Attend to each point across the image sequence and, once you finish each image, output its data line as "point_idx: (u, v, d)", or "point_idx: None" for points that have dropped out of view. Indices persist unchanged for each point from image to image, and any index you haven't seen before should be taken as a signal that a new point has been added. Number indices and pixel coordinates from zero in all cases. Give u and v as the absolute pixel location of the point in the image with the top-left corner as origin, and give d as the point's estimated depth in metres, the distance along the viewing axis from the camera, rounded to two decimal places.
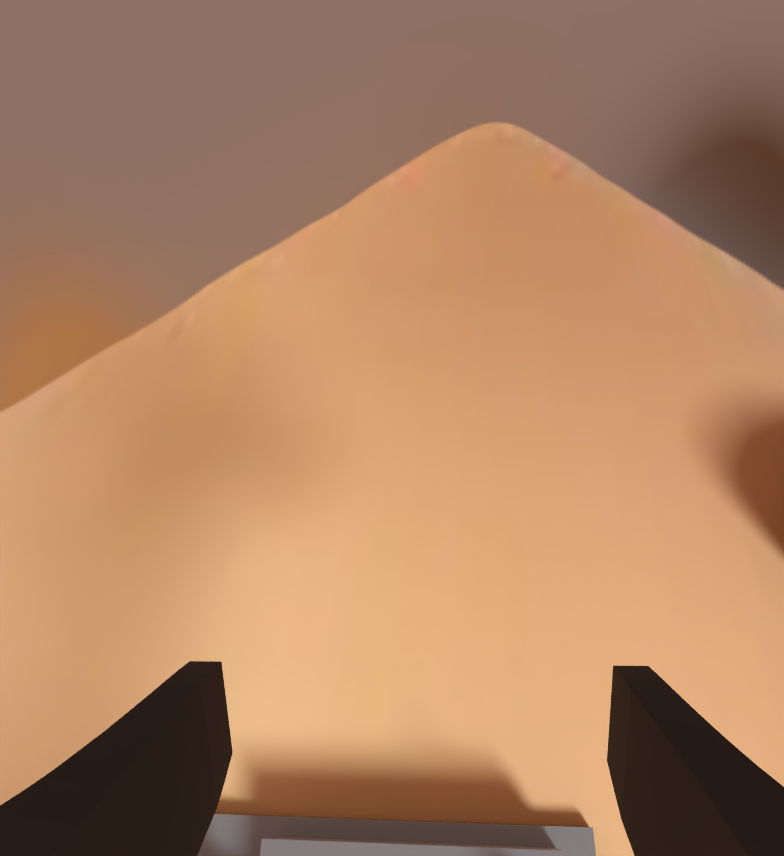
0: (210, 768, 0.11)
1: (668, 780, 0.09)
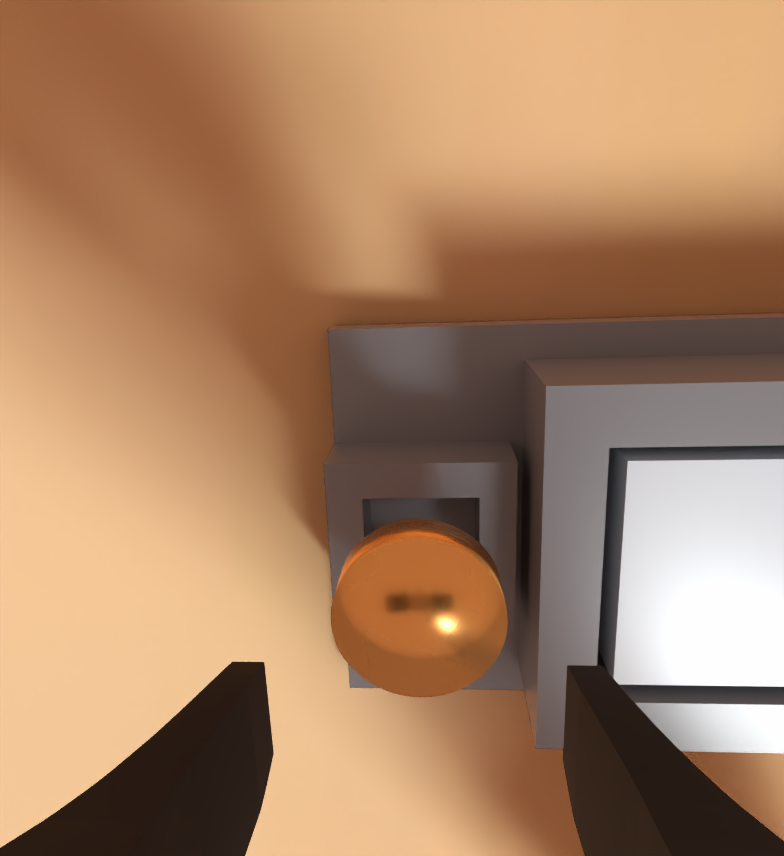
0: (255, 769, 0.11)
1: (609, 779, 0.09)
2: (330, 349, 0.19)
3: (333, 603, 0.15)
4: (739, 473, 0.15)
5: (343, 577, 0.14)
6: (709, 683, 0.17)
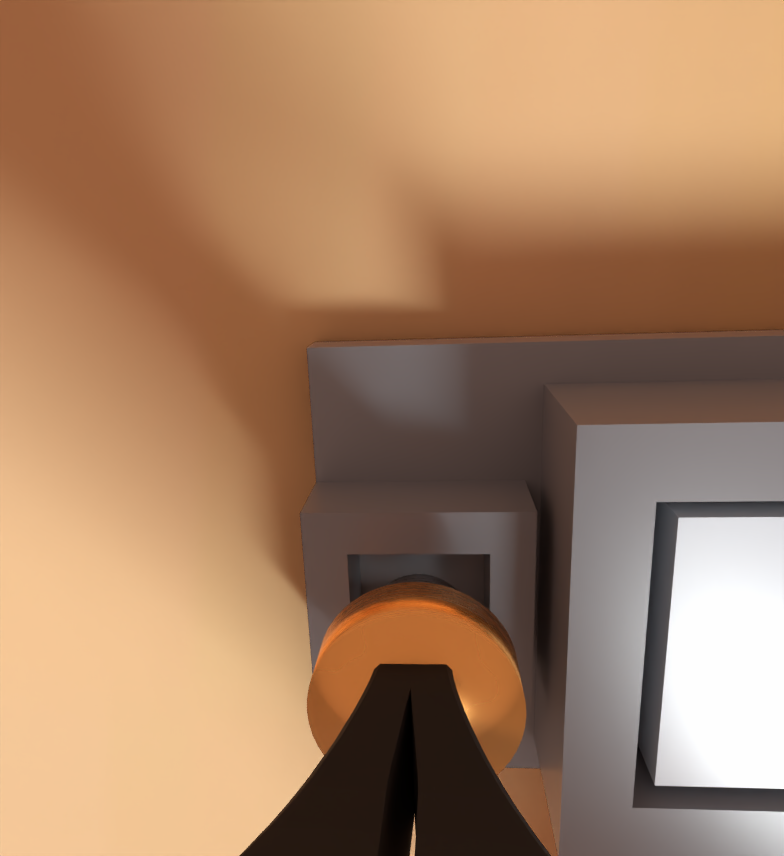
0: (412, 773, 0.11)
1: (416, 774, 0.09)
2: (310, 371, 0.15)
3: (310, 689, 0.12)
4: None
5: (322, 658, 0.12)
6: (774, 785, 0.14)
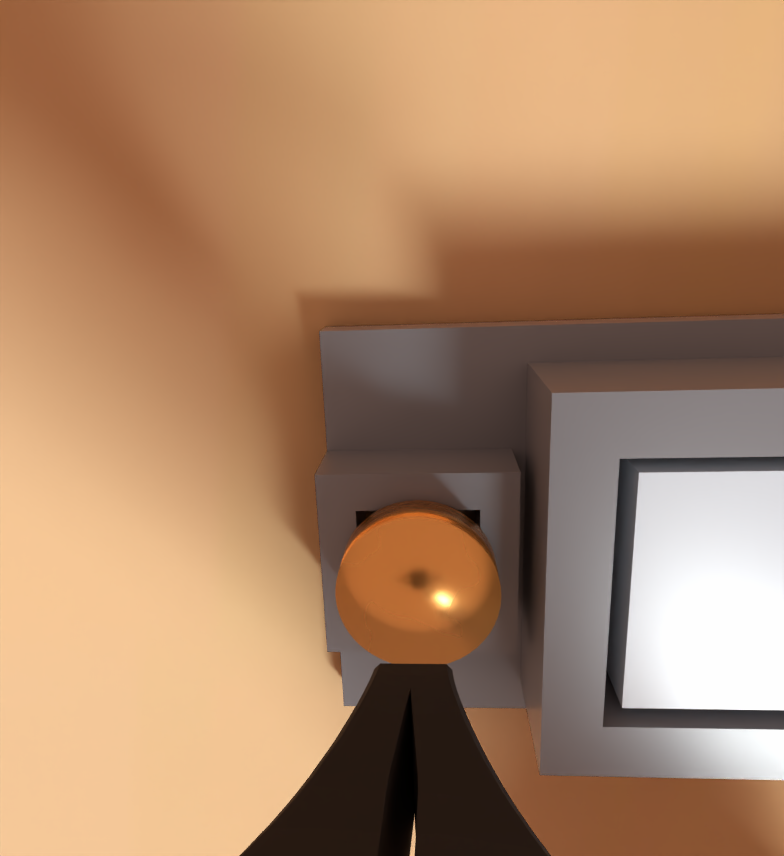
0: (412, 773, 0.11)
1: (416, 775, 0.09)
2: (322, 352, 0.18)
3: (337, 579, 0.16)
4: (758, 485, 0.14)
5: (347, 554, 0.15)
6: (724, 706, 0.16)
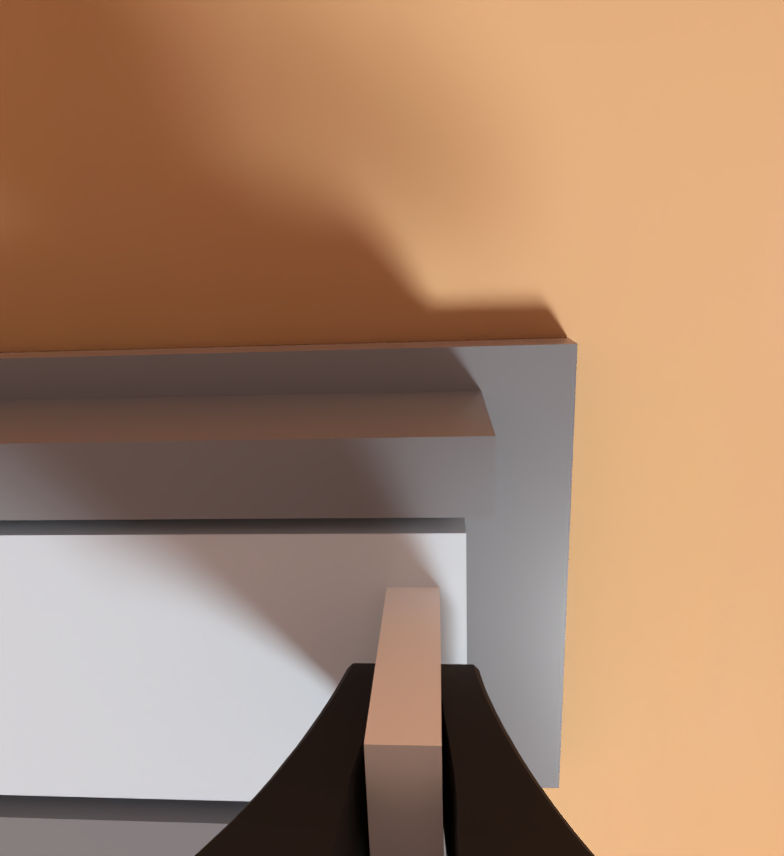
0: None
1: (449, 775, 0.09)
2: None
3: None
4: None
5: None
6: None
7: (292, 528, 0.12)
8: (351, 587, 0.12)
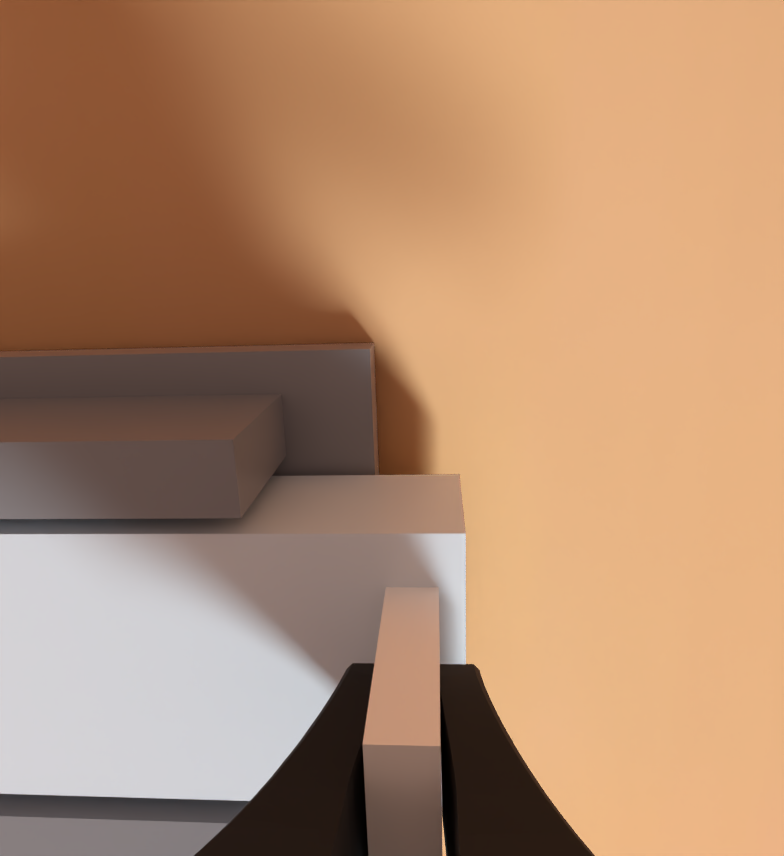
0: None
1: (449, 775, 0.09)
2: None
3: None
4: None
5: None
6: None
7: (291, 527, 0.12)
8: (351, 586, 0.12)
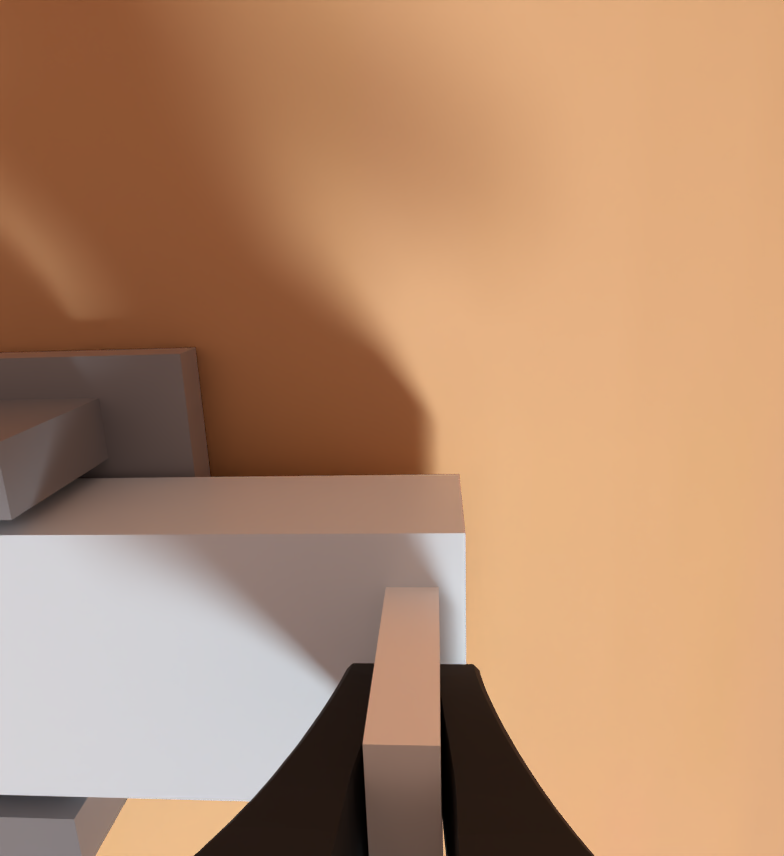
0: None
1: (449, 775, 0.09)
2: None
3: None
4: None
5: None
6: None
7: (291, 528, 0.12)
8: (351, 586, 0.12)
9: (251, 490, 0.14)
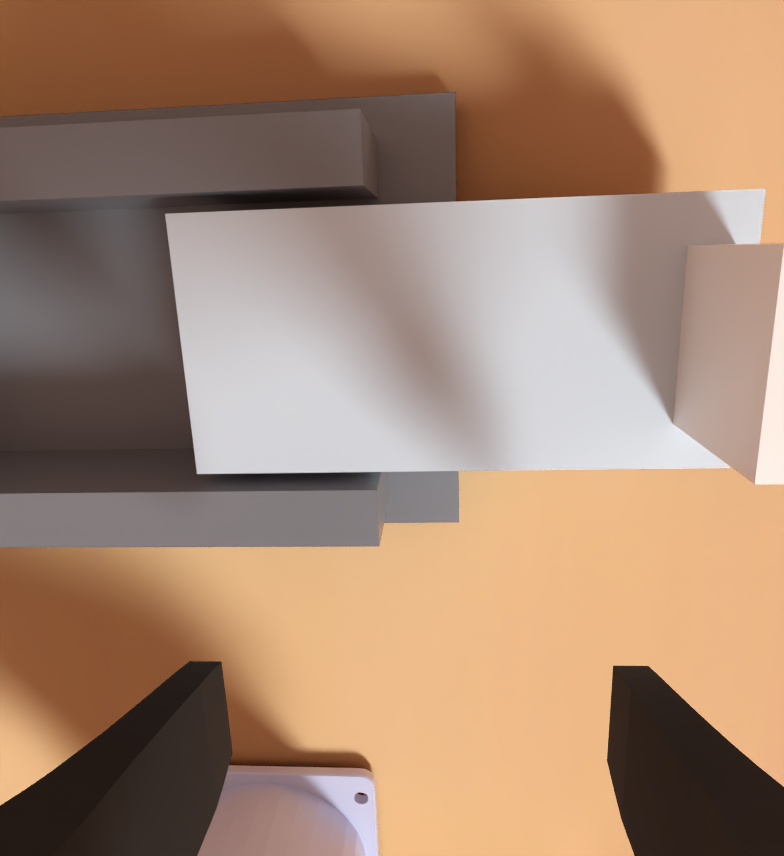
0: (210, 768, 0.11)
1: (668, 780, 0.09)
2: None
3: None
4: (280, 225, 0.14)
5: None
6: (293, 469, 0.16)
7: (603, 196, 0.14)
8: (656, 246, 0.14)
9: None
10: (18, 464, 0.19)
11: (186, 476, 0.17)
